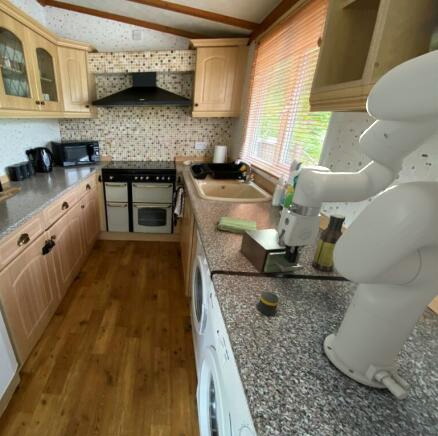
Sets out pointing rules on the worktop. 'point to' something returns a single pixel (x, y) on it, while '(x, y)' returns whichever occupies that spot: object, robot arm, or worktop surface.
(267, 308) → the cap
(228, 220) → the washcloth
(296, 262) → the drawer
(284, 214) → the wine bottle
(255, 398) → the worktop surface
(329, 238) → the sauce bottle
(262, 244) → the cabinet
